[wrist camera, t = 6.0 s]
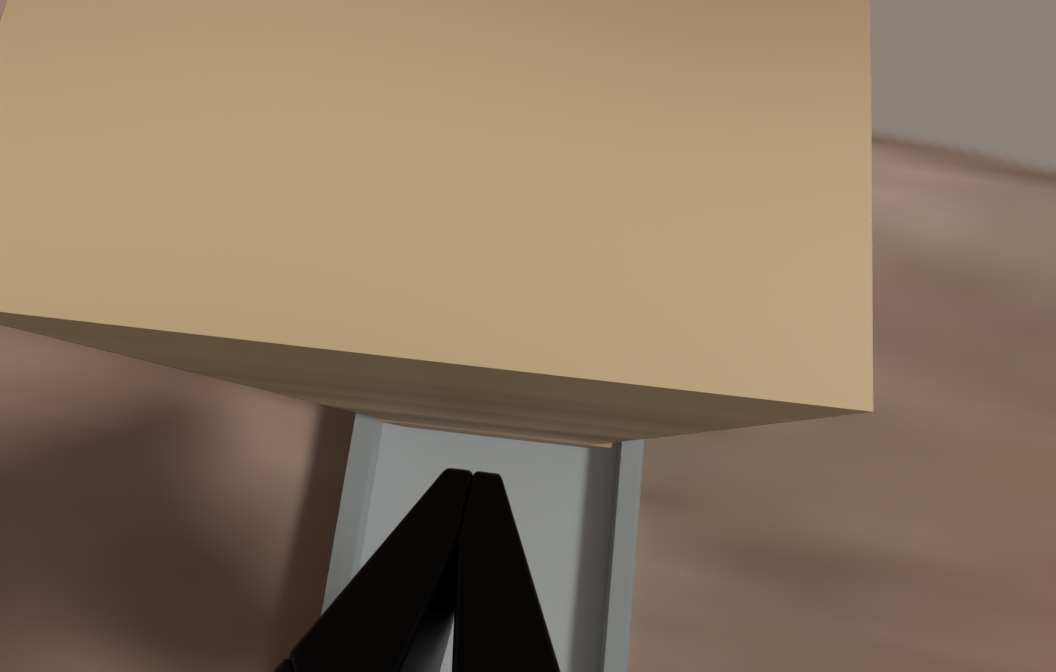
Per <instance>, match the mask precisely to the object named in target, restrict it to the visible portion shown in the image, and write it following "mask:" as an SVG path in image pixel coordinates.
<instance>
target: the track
mask: <svg viewBox="0 0 1056 672" xmlns="http://www.w3.org/2000/svg"><path fill="white" fill-rule="evenodd" d="M643 449H644V439H640V440H631V441H623V442H614V443H612V448H602V449H592V448H583V447H574V446H566V445H557V444H548V443H540V442H531V441H523V440H514V439H505V438H497V437H488V436H479V435H471V434H462V433H453V432H445V431H436V430H427V429H419V428H410V427H402V426H398V425H393V424H389V423H385V422H380V421H377V418H375V417H371V416H367V415H363V414H359V413H356V415H355V421H354V427H353V433H352V439H351V444H350V450H349V456H348V462H347V468H346V473H345V479H344V485H343V491H342V497H341V502H340V508H339V514H338V520H337V525H336V531H335V537H334V543H333V549H332V554H331V560H330V566H329V572H328V578H327V583H326V589H325V595H324V601H323V607H322V612H321V615H322V614H323V613H324V612H325V610H326V609H327V608H328V607H329V606H330V604H331V603H332V602H333V601H334V600H335V599H336V597H337V596H338V595H339V594H340V593H341V591H342V590H343V589H344V588H345V587H346V586H347V584H348V583H349V582H350V581H351V580H352V578H353V577H354V576H355V575H356V574H357V573H358V571H359V570H360V569H361V568H362V567H363V565H364V564H365V563H366V562H367V561H368V560H369V558H370V557H371V556H372V555H373V554H374V552H375V551H376V550H377V549H378V548H379V546H380V545H381V544H382V543H383V542H384V541H385V539H386V538H387V537H388V536H389V535H390V533H391V532H392V531H393V530H394V529H395V528H396V526H397V525H398V524H399V523H400V522H401V520H402V519H403V518H404V517H405V516H406V515H407V513H408V512H409V511H410V510H411V509H412V507H413V506H414V505H415V504H416V503H417V502H418V500H419V499H420V498H421V497H422V496H423V494H424V493H425V492H426V491H427V490H428V488H429V487H430V486H431V485H432V484H433V483H434V481H435V480H436V479H437V478H438V477H439V475H440V474H441V473H442V472H443V471H444V470H445V469H447V468H455V469H464V470H470V471H471V472H472V473H473V474H474V473H475V472H477V471H481V472H490V473H497V474H499V475H500V476H501V477H502V480H503V483H504V486H505V490H506V493H507V496H508V500H509V503H510V506H511V509H512V513H513V516H514V519H515V523H516V526H517V529H518V533H519V536H520V539H521V542H522V546H523V549H524V552H525V556H526V559H527V562H528V566H529V569H530V572H531V576H532V579H533V582H534V585H535V589H536V592H537V595H538V599H539V602H540V605H541V609H542V612H543V615H544V619H545V622H546V625H547V628H548V632H549V635H550V638H551V642H552V645H553V648H554V652H555V655H556V658H557V661H558V665H559V668H560V671H561V672H627V671H628V657H629V643H630V629H631V615H632V602H633V588H634V574H635V560H636V546H637V532H638V518H639V504H640V490H641V476H642V463H643ZM453 631H454V621H453V625H452V629H451V633H450V637H449V640H448V644H447V647H446V651H445V655H444V658H443V662H442V665H441V669H440V672H452V653H453Z"/></svg>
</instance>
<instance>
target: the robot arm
mask: <svg viewBox="0 0 1056 672" xmlns="http://www.w3.org/2000/svg"><path fill="white" fill-rule="evenodd" d="M453 621H454V631H453V653H452V672H561V671H560V668H559V665H558V661H557V658H556V655H555V652H554V648H553V645H552V642H551V638H550V635H549V632H548V628H547V625H546V622H545V619H544V615H543V612H542V609H541V605H540V602H539V599H538V595H537V592H536V589H535V585H534V582H533V579H532V576H531V572H530V569H529V566H528V562H527V559H526V556H525V552H524V549H523V546H522V542H521V539H520V536H519V533H518V529H517V526H516V523H515V519H514V516H513V513H512V509H511V506H510V503H509V500H508V496H507V493H506V490H505V486H504V483H503V480H502V477H501V476H500V475H499V474H497V473H490V472H481V471H477V472H475V473H474V474H473V473H472V472H471V471H470V470H464V469H455V468H447V469H445V470H444V471H443V472H442V473H441V474H440V475H439V477H438V478H437V479H436V480H435V481H434V483H433V484H432V485H431V486H430V487H429V488H428V490H427V491H426V492H425V493H424V494H423V496H422V497H421V498H420V499H419V500H418V502H417V503H416V504H415V505H414V506H413V507H412V509H411V510H410V511H409V512H408V513H407V515H406V516H405V517H404V518H403V519H402V520H401V522H400V523H399V524H398V525H397V526H396V528H395V529H394V530H393V531H392V532H391V533H390V535H389V536H388V537H387V538H386V539H385V541H384V542H383V543H382V544H381V545H380V546H379V548H378V549H377V550H376V551H375V552H374V554H373V555H372V556H371V557H370V558H369V560H368V561H367V562H366V563H365V564H364V565H363V567H362V568H361V569H360V570H359V571H358V573H357V574H356V575H355V576H354V577H353V578H352V580H351V581H350V582H349V583H348V584H347V586H346V587H345V588H344V589H343V590H342V591H341V593H340V594H339V595H338V596H337V597H336V599H335V600H334V601H333V602H332V603H331V604H330V606H329V607H328V608H327V609H326V610H325V612H324V613H323V614H322V615H321V616H320V618H319V619H318V620H317V621H316V622H315V623H314V625H313V626H312V627H311V628H310V629H309V631H308V632H307V633H306V634H305V635H304V636H303V638H302V639H301V640H300V641H299V642H298V644H297V645H296V646H295V647H294V648H293V649H292V651H291V652H290V654H289V658H290V660H289V659H288V658H286V659H284V660H283V661H282V662H281V663H280V664H279V666H278V667H277V668H276V669H275V670H274V672H440V669H441V665H442V662H443V658H444V655H445V651H446V647H447V644H448V640H449V637H450V633H451V629H452V625H453Z"/></svg>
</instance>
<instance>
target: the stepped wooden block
mask: <svg viewBox="0 0 1056 672" xmlns="http://www.w3.org/2000/svg"><path fill="white" fill-rule="evenodd" d="M870 21H871V19H870V0H8V1H7V4H6V7H5V10H4V13H3V15H2V18H1V21H0V325H4V326H8V327H12V328H16V329H20V330H24V331H28V332H32V333H36V334H40V335H44V336H48V337H52V338H56V339H60V340H64V341H68V342H73V343H77V344H81V345H85V346H89V347H93V348H97V349H101V350H105V351H109V352H113V353H117V354H121V355H125V356H129V357H133V358H137V359H141V360H145V361H149V362H153V363H157V364H161V365H165V366H169V367H173V368H177V369H181V370H186V371H190V372H194V373H198V374H202V375H206V376H210V377H214V378H218V379H222V380H226V381H230V382H234V383H238V384H242V385H246V386H250V387H254V388H258V389H262V390H266V391H270V392H274V393H278V394H282V395H286V396H290V397H294V398H299V399H303V400H307V401H311V402H315V403H319V404H323V405H327V406H331V407H335V408H339V409H343V410H347V411H351V412H355V413H359V414H363V415H367V416H371V417H375V418H377V421H380V422H385V423H389V424H393V425H398V426H402V427H410V428H419V429H427V430H436V431H445V432H453V433H462V434H471V435H479V436H488V437H497V438H505V439H514V440H523V441H531V442H540V443H548V444H557V445H566V446H574V447H583V448H592V449H602V448H612V443H614V442H623V441H631V440H640V439H648V438H656V437H665V436H673V435H682V434H690V433H698V432H707V431H715V430H724V429H732V428H740V427H749V426H757V425H766V424H774V423H782V422H791V421H799V420H808V419H816V418H824V417H833V416H841V415H850V414H858V413H866V412H873V316H872V166H871V30H870V29H871V22H870Z"/></svg>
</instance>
